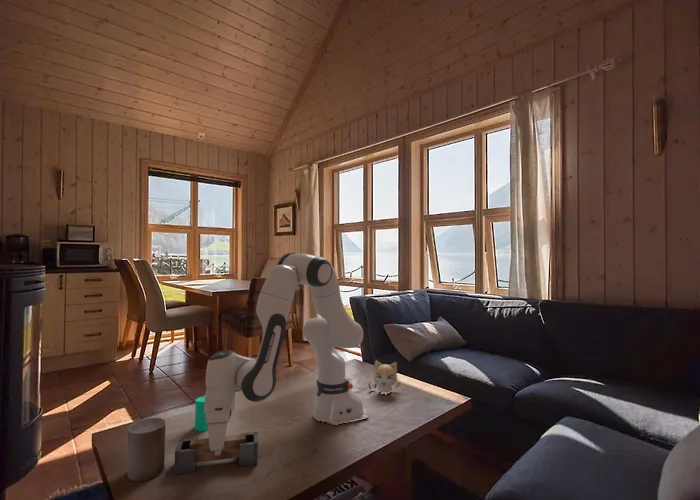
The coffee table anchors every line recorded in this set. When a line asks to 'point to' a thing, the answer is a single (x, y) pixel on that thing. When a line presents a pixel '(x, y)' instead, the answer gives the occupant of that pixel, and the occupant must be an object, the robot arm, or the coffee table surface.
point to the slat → (204, 453)
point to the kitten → (385, 376)
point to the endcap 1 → (184, 458)
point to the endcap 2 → (249, 450)
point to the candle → (200, 415)
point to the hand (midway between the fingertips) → (218, 450)
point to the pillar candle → (146, 449)
